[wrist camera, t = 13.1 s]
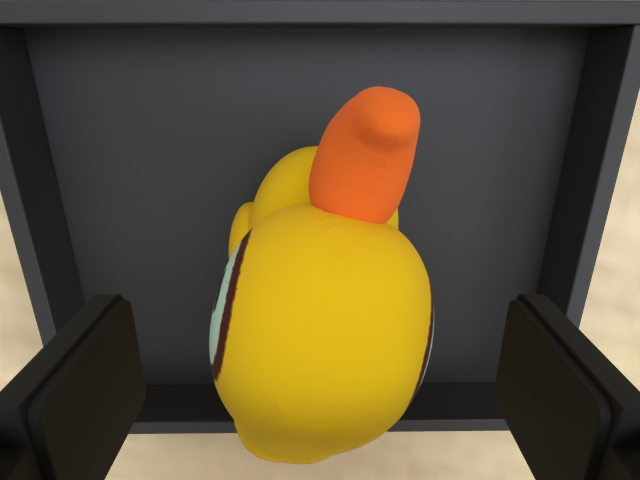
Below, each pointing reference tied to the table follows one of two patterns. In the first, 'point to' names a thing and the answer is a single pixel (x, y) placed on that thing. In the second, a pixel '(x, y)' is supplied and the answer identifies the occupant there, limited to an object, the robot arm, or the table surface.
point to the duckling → (326, 292)
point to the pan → (298, 132)
